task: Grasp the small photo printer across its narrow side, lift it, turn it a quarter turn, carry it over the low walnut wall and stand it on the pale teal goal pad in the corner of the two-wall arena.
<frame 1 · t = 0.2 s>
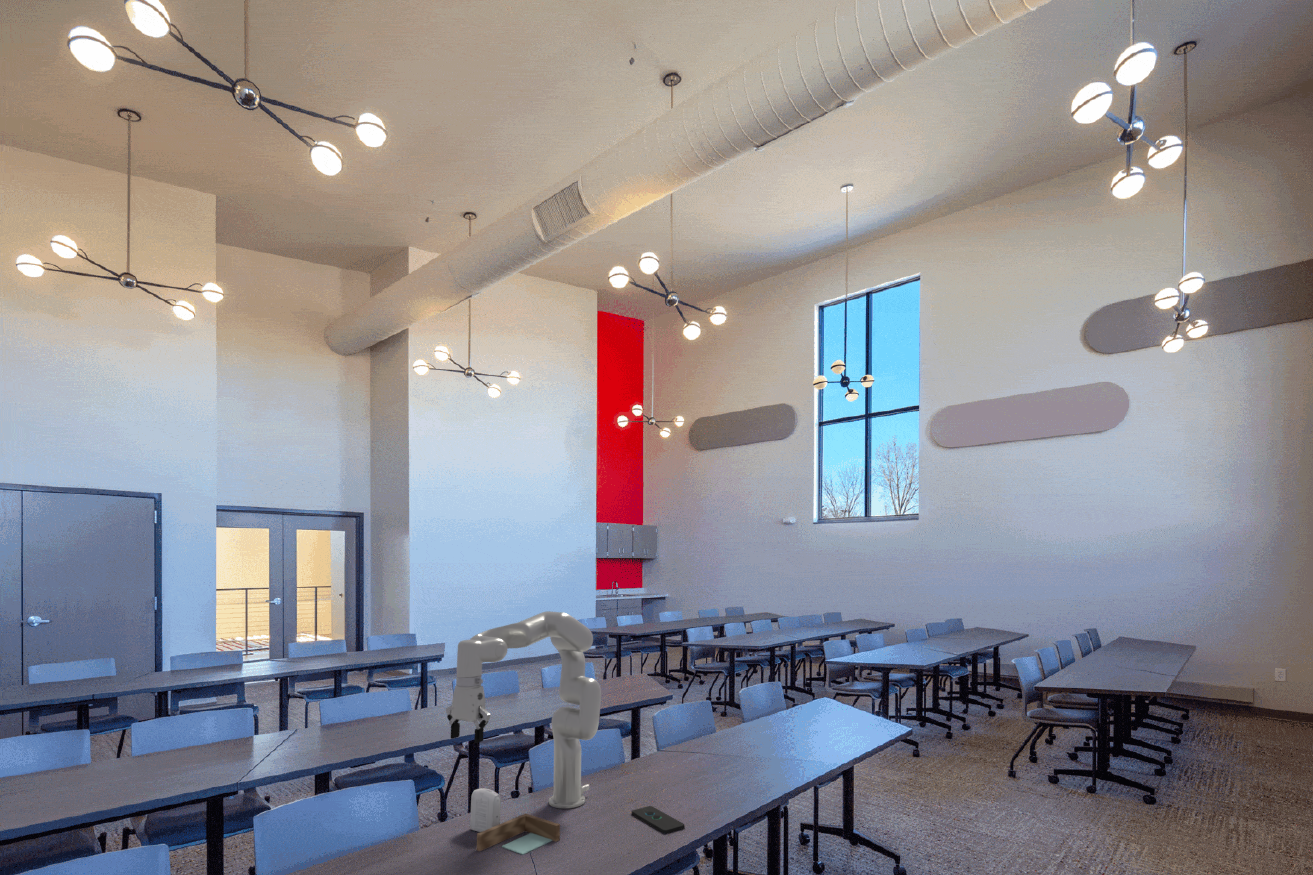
hand: (466, 739, 217), 30 cm above the table, fingers open, 9 cm apart
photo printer: (484, 831, 224), on the table
arena: (525, 829, 225), on the table
smart home device: (657, 823, 231), on the table
goal pad: (527, 843, 214), on the table
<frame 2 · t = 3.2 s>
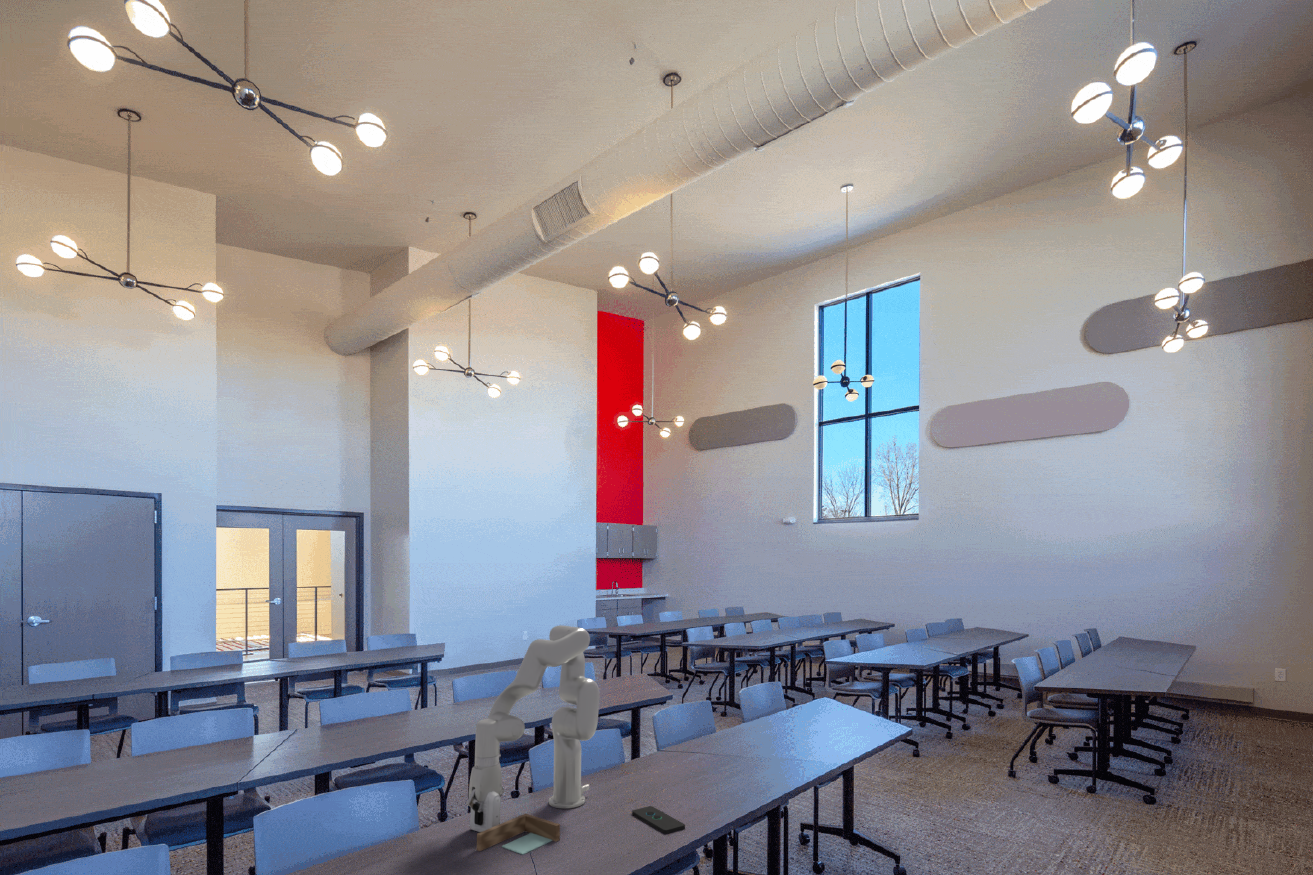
hand: (485, 820, 225), 3 cm above the table, fingers closed on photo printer, 4 cm apart
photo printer: (484, 831, 224), on the table, touching gripper
everything else where it was.
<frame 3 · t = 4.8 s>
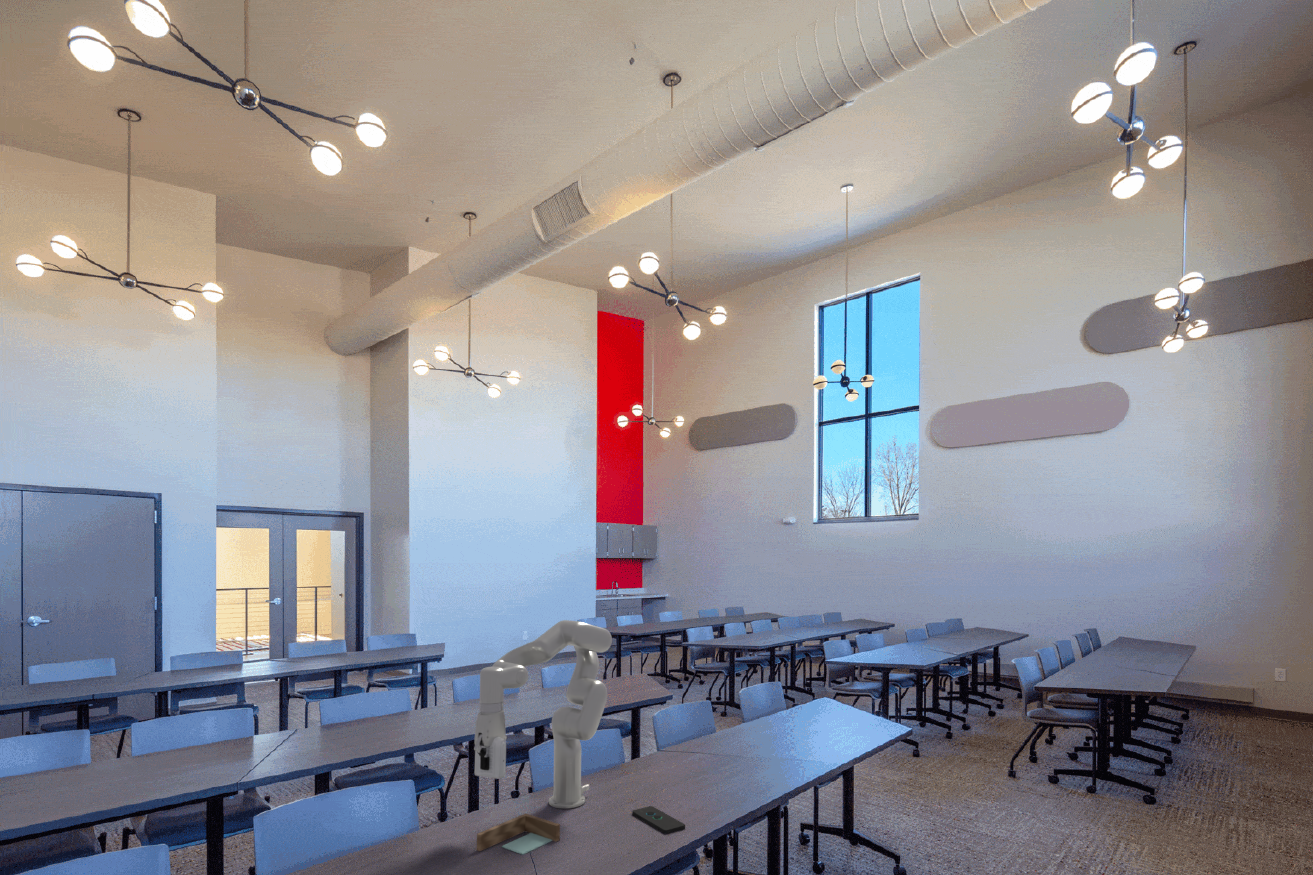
hand: (490, 766, 226), 19 cm above the table, fingers closed on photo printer, 4 cm apart
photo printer: (490, 776, 226), point 16 cm above the table, touching gripper
everything else where it was.
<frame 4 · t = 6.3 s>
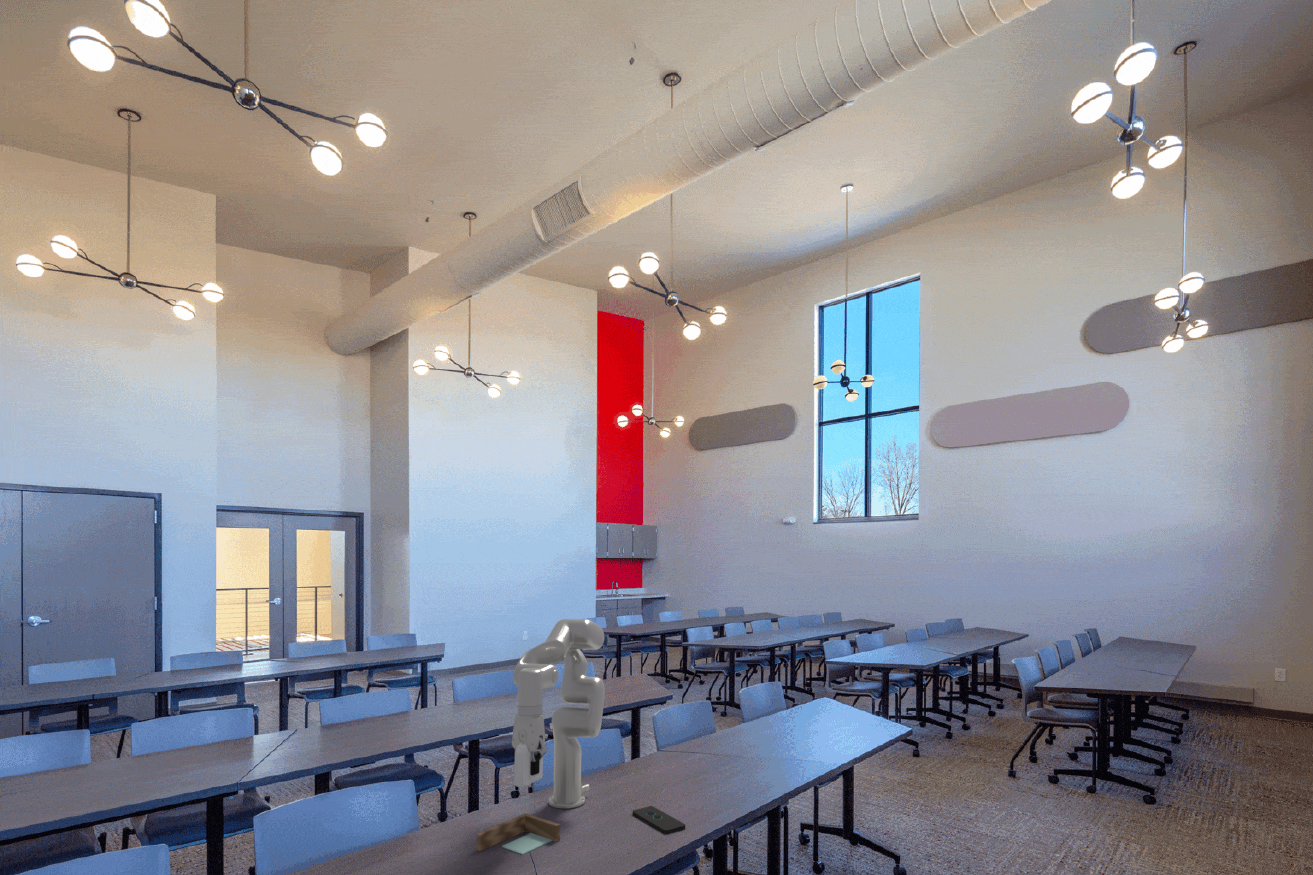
hand: (528, 771, 217), 20 cm above the table, fingers closed on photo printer, 4 cm apart
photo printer: (528, 782, 217), point 17 cm above the table, touching gripper
everything else where it was.
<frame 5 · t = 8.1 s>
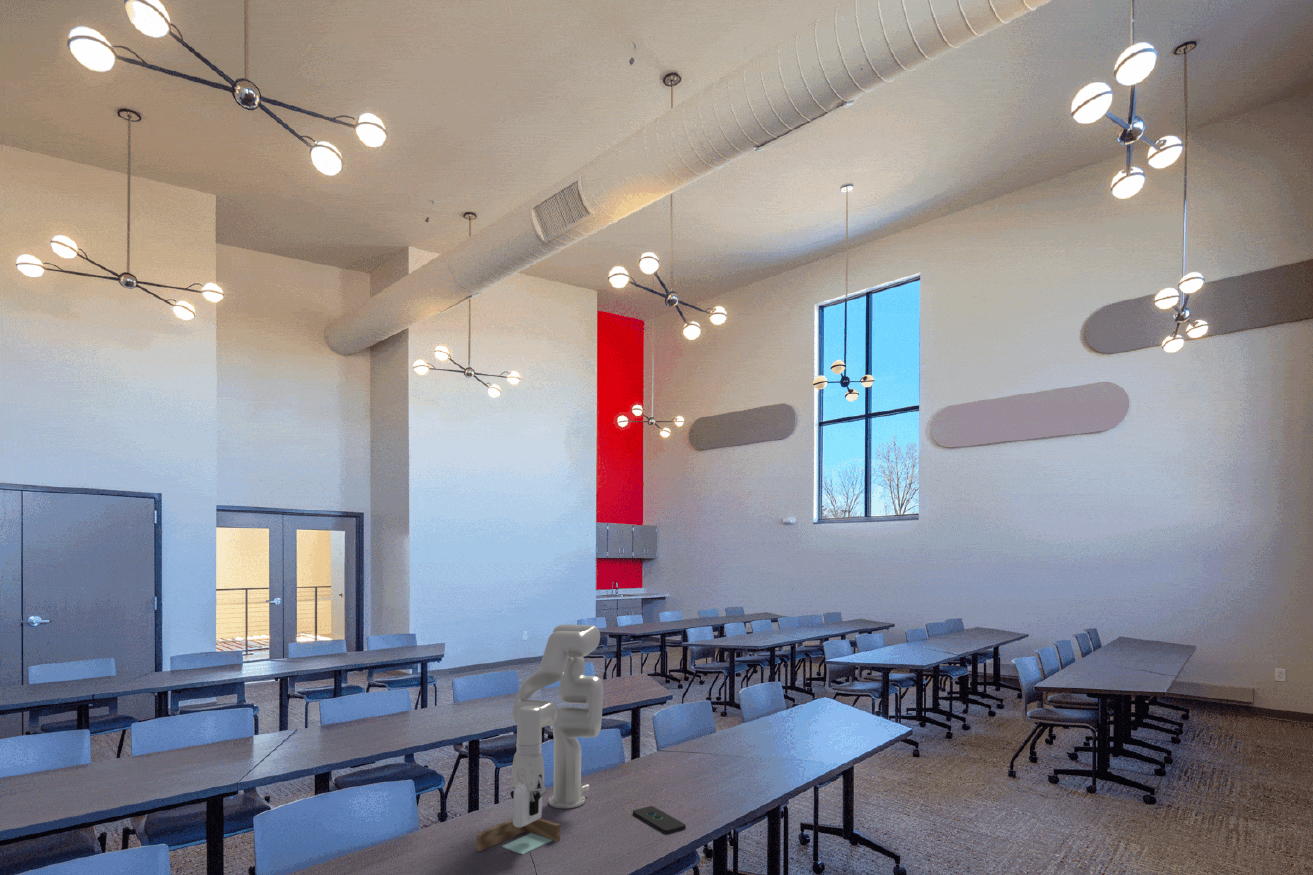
hand: (527, 811, 216), 9 cm above the table, fingers closed on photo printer, 4 cm apart
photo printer: (527, 822, 215), point 6 cm above the table, touching gripper
everything else where it was.
when the fingers open (4 cm above the table, at t = 9.6 s): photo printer stays where it is, resting on goal pad.
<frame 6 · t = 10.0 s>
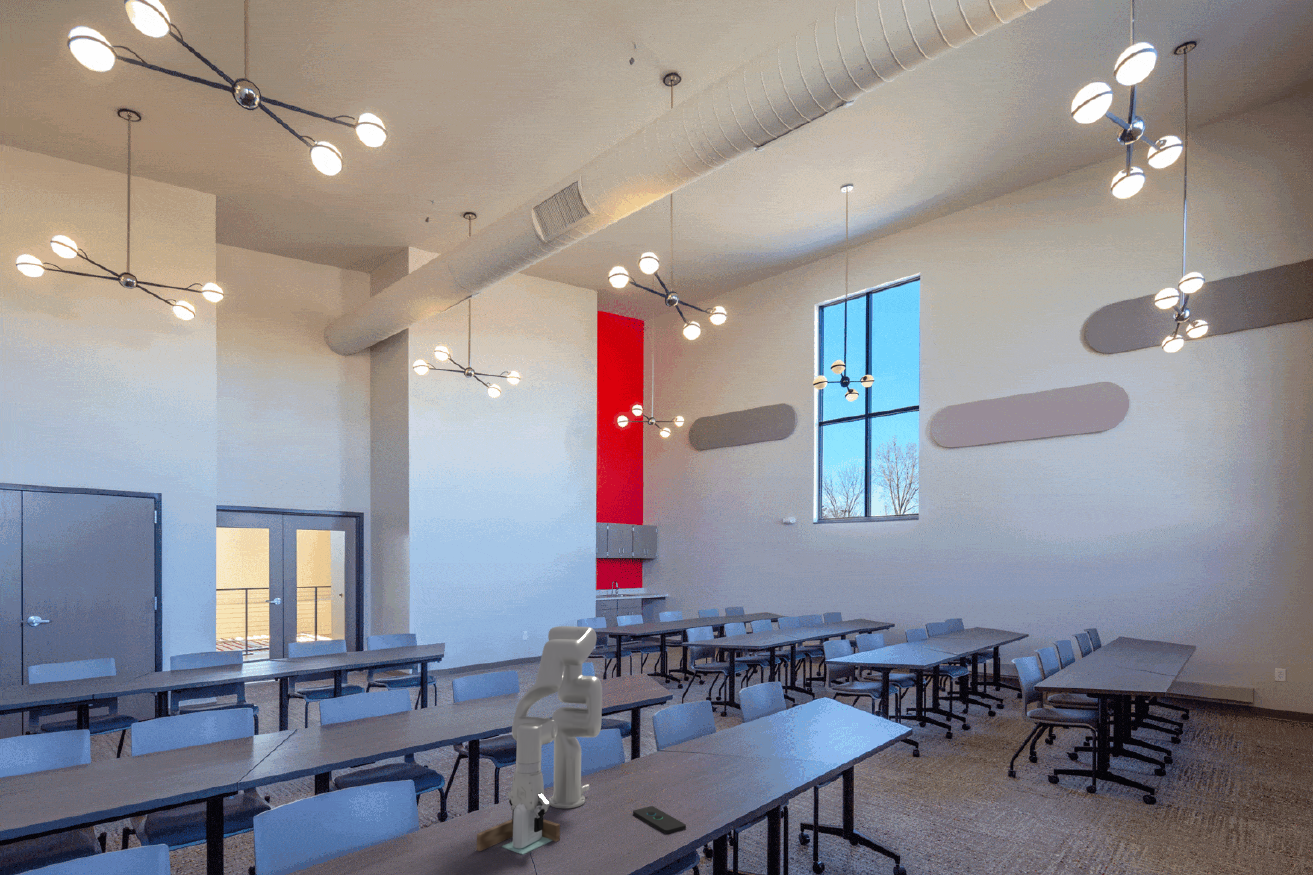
hand: (527, 826, 215), 5 cm above the table, fingers open, 9 cm apart
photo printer: (527, 843, 215), resting on goal pad
everything else where it was.
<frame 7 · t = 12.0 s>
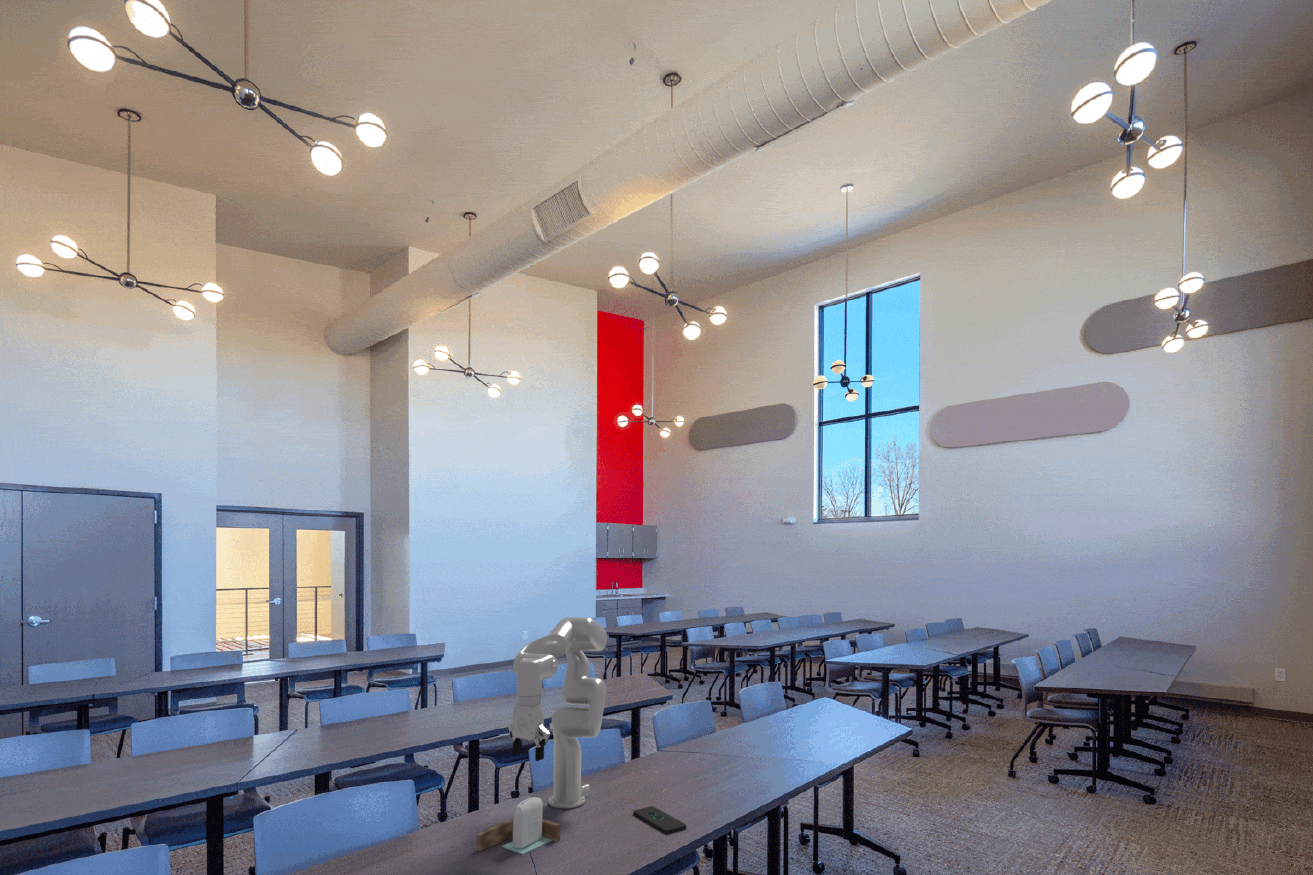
hand: (528, 756, 221), 24 cm above the table, fingers open, 9 cm apart
nothing on the table moved.
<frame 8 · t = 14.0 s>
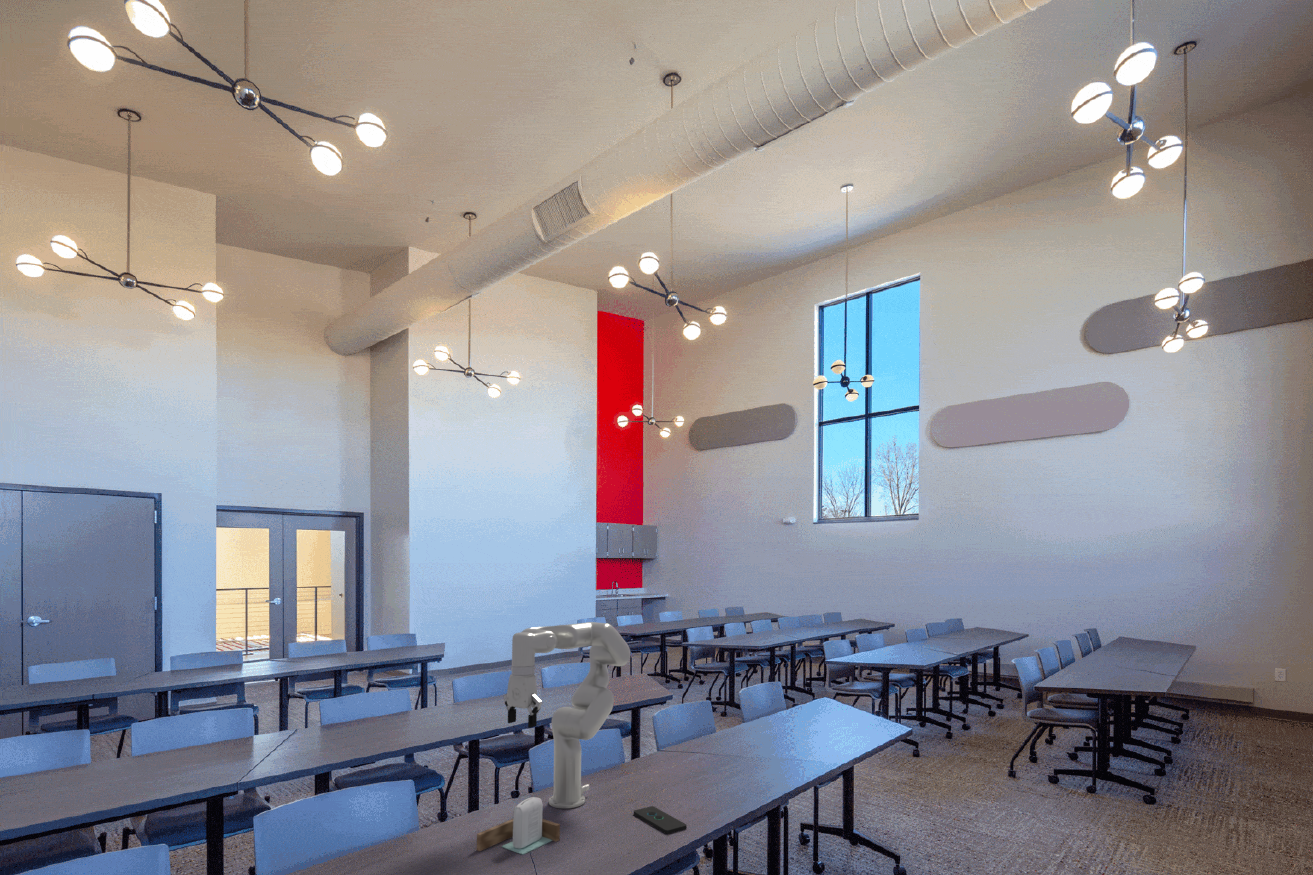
hand: (521, 724, 235), 30 cm above the table, fingers open, 9 cm apart
nothing on the table moved.
at the end: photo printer inside the target area (0.1 cm from its centre), resting on goal pad; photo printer tilted 0°; the gripper is holding nothing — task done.
